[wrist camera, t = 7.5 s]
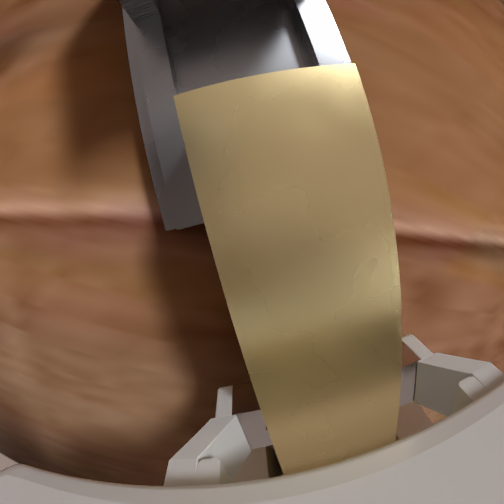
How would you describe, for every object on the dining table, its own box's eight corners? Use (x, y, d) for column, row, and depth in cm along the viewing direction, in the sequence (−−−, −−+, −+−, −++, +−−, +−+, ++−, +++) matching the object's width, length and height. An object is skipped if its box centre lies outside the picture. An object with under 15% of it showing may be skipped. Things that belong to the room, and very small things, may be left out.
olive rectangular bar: (289, 460, 13) (300, 520, 9) (197, 130, 9) (169, 95, 5) (363, 440, 13) (387, 495, 9) (315, 105, 9) (358, 62, 5)
